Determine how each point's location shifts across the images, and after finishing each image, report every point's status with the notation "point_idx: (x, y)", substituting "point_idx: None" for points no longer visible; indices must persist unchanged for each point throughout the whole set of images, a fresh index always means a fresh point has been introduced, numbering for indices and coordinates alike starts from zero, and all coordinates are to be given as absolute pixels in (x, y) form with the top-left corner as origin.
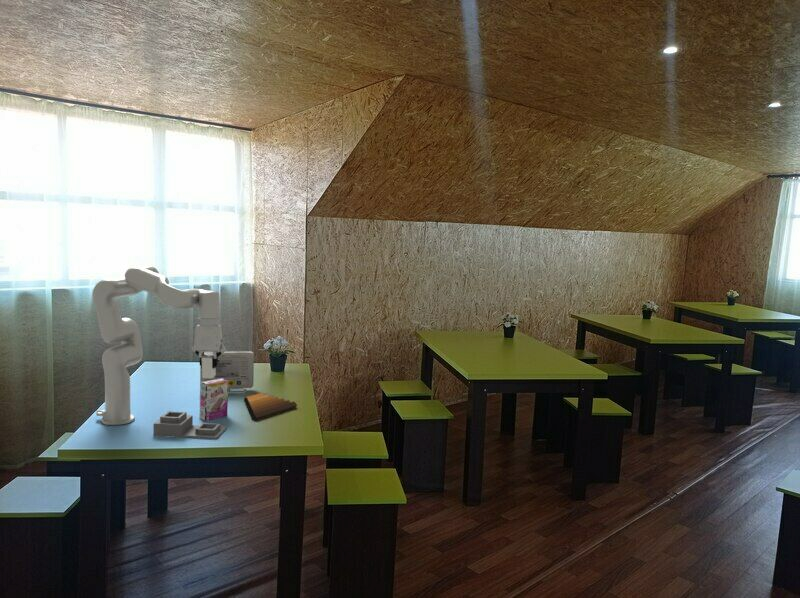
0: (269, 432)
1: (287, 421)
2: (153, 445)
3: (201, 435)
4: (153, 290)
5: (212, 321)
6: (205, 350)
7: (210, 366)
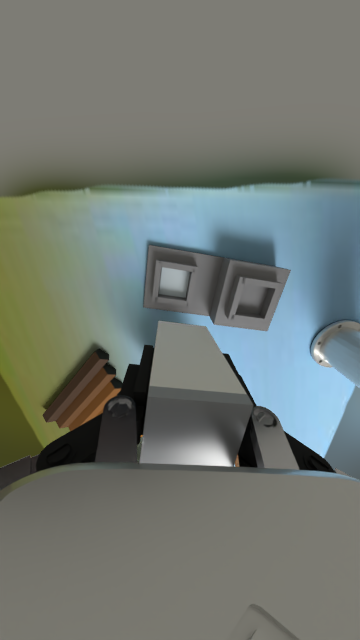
0: (50, 286)
1: (37, 347)
2: (272, 206)
3: (182, 256)
4: None
5: None
6: (236, 473)
7: (165, 348)
